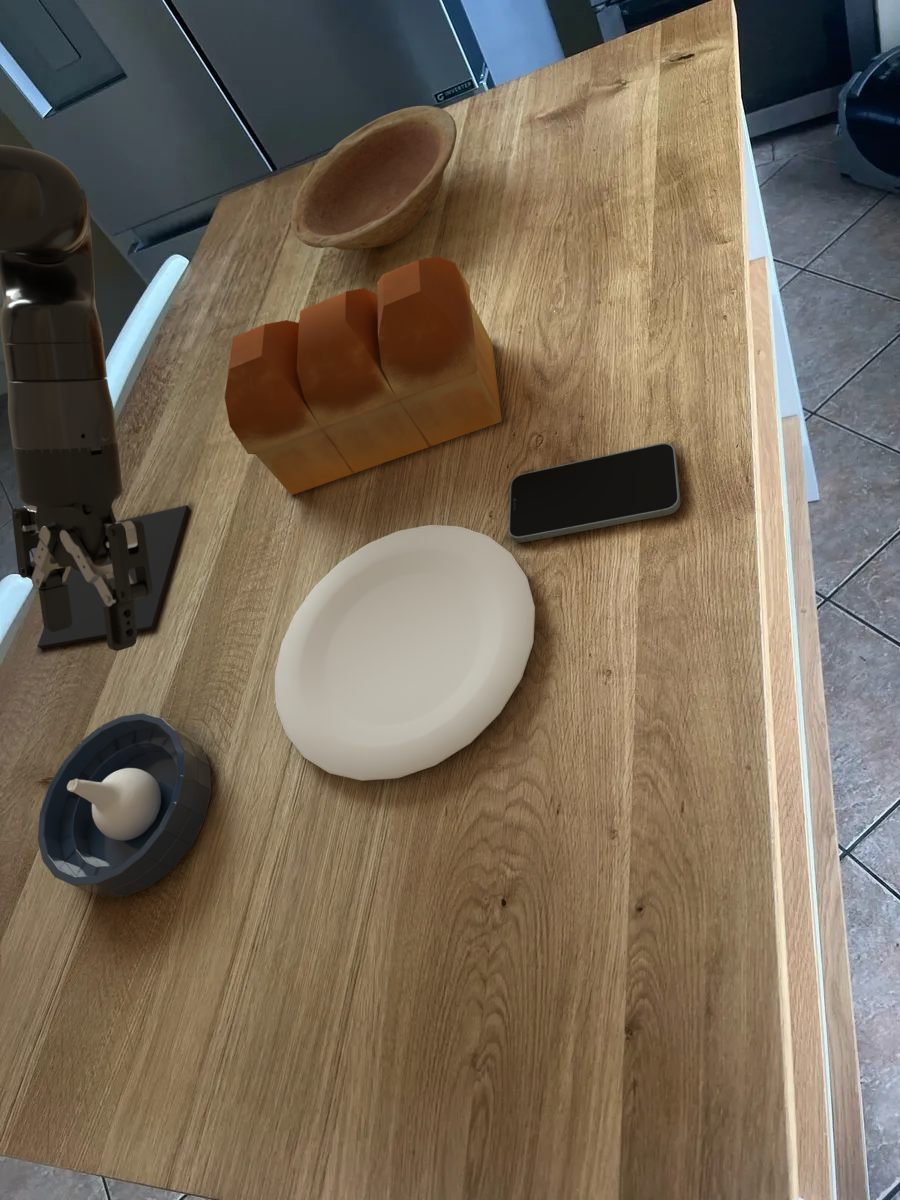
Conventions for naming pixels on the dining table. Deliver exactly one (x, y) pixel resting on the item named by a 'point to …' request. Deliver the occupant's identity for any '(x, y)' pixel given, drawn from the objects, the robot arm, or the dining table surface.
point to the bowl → (376, 181)
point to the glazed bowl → (147, 858)
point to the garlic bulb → (121, 802)
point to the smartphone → (594, 493)
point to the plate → (405, 653)
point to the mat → (162, 551)
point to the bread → (364, 377)
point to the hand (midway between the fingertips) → (90, 638)
